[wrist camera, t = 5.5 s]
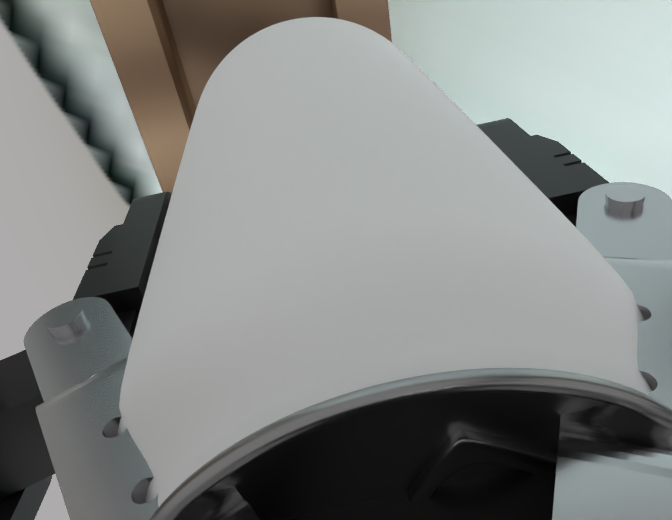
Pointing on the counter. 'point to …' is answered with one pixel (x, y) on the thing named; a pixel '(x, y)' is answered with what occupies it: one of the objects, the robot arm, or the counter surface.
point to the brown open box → (195, 55)
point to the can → (361, 292)
